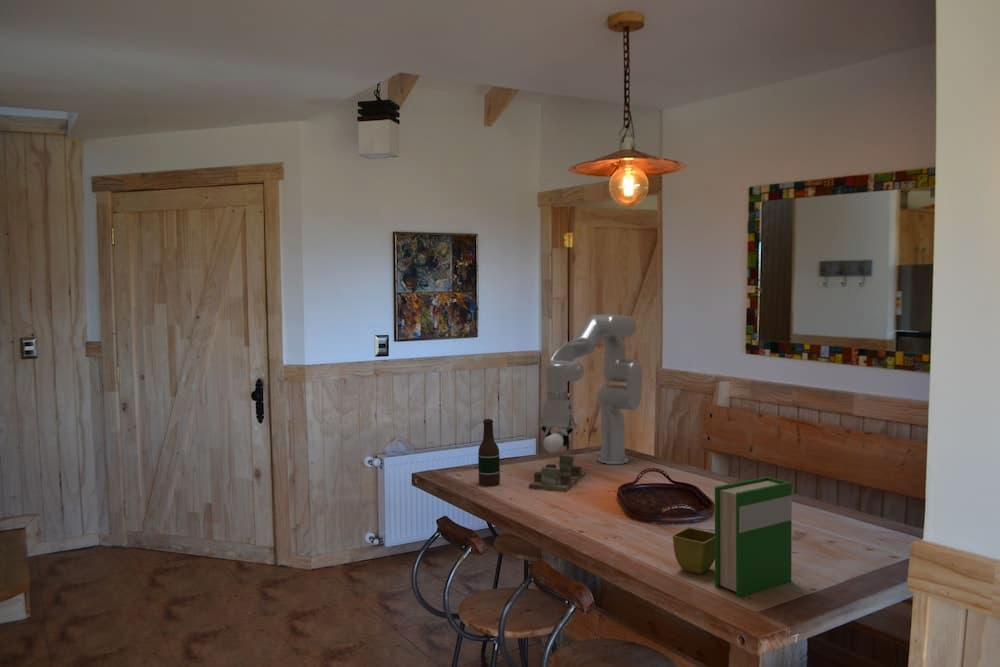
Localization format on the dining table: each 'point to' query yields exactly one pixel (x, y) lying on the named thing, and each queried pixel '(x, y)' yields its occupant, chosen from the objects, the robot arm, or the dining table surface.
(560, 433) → the roll
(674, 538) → the flower pot
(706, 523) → the dining table surface
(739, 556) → the hardback book
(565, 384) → the robot arm
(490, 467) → the beer bottle
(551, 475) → the cradle
